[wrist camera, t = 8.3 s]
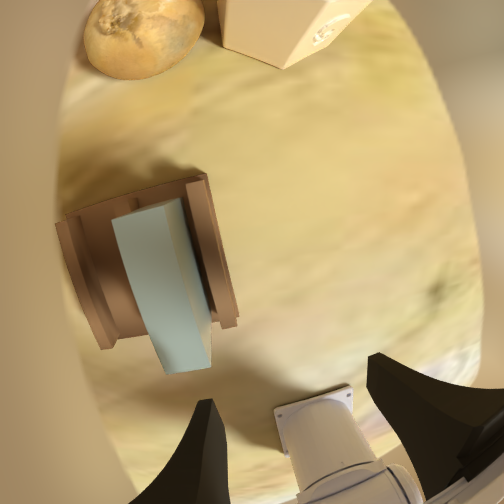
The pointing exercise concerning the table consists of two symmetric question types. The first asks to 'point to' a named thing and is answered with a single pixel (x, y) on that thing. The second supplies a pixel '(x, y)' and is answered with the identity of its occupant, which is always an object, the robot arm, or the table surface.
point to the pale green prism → (167, 283)
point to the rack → (112, 267)
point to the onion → (141, 35)
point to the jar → (284, 27)
